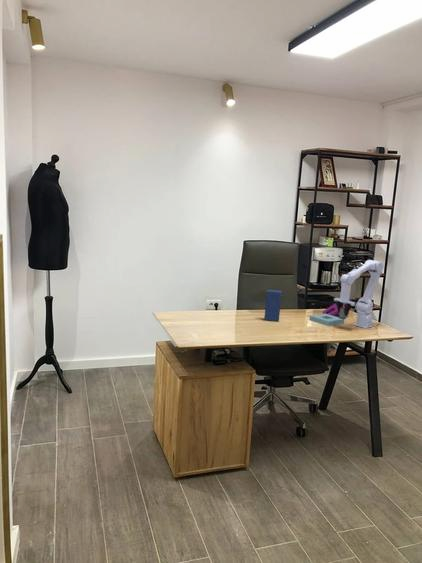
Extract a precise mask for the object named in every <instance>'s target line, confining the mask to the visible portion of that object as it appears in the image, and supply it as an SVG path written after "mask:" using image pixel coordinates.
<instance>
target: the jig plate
mask: <svg viewBox="0 0 422 563" xmlns="http://www.w3.org/2000/svg"><path fill="white" fill-rule="evenodd" d="M309 321H311V322H314V323H318V324H320V325H324V326H327V327H331V326H336V325H337V326H338V325H344V324H345V319H340V318H339V316H336V315H335V316H332V315H328V314H323V313H319V314H314V315H310V316H309Z"/></svg>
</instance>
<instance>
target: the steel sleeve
mask: <svg viewBox="0 0 422 563" xmlns="http://www.w3.org/2000/svg"><path fill="white" fill-rule="evenodd" d="M338 318H340V319H344V320H346V319H347V317H346V315H345V307H340V311H339V315H338Z"/></svg>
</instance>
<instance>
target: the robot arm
mask: <svg viewBox="0 0 422 563" xmlns="http://www.w3.org/2000/svg"><path fill="white" fill-rule="evenodd" d="M383 269H384V264H383V262H382V261H380V260H379V261H378V260H372V259H368V260H365V261H364V264H362V265H361V266H360V267H359V268H353V269H352V270H351V271H350V272H347V274H342V275H341V276H340V278H339V281H340V286H341V288H340V296H339V297H334V298H333V302H335V303H336V305H337V308H338V313H339V311H340V307H342V306H343V303H344V304H345V305H344V306H345V315H348V316H349V314H348V312H349V313H350V310H351V309H352V307H354V306H355V310H356V313H357V315H356V321H355V323H353V324H352V325H353V326H356V327H359V328H362V329H369V328H373V326H372V325H373V320H374V319H373V315H372V314H371V313H372V312H373V309H374V308H373V306H374V303H373V301H372V298H373V296H374V293H375V290H376V288H377V286H378V283H379V280H380V278H381V274H382V272H383ZM367 271H368V273H369V274H370V278H369V280H368V283H367V285H366V288H365V291H364V293H363V296H362V297H360V298H359V299H358V301H357V302H354V301H351V300H350V296H351V291H352V290H351V289H352V284H353V283H354V281H355V280H357V279H358V278H360V277H361V275H362V274H363V273H365V272H367Z"/></svg>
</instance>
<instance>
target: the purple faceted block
mask: <svg viewBox="0 0 422 563" xmlns="http://www.w3.org/2000/svg"><path fill="white" fill-rule="evenodd" d="M344 305H345V303H343V306H342V307H345V306H344ZM349 313H350V311H349V312H348V315H346V318H347V317H348V316H349ZM322 314H328V315H332V316H335V317H336V316H339V313H338V308H337V305H336V302H335V303H333V304H332V305H330V306H329V307H327V308H326V309H324V310H323V311H322Z"/></svg>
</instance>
